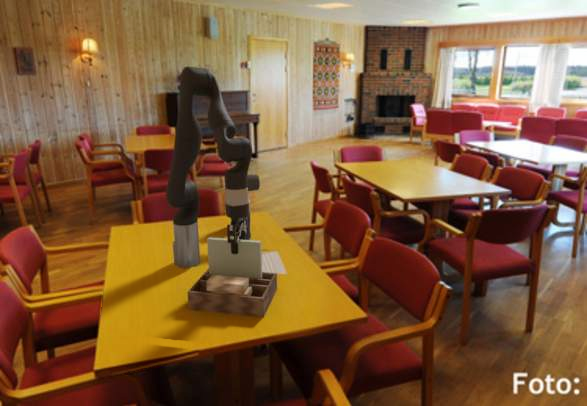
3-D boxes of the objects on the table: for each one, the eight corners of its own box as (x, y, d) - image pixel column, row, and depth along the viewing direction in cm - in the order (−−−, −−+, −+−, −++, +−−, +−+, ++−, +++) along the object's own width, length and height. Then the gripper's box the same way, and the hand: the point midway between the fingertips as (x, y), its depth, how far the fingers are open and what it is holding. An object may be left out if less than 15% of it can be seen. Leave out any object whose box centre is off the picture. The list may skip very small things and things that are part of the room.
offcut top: (206, 290, 134) (206, 281, 134) (212, 283, 139) (212, 274, 138) (244, 294, 132) (243, 285, 132) (248, 286, 137) (248, 277, 136)
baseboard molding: (257, 291, 151) (291, 288, 153) (257, 283, 150) (291, 281, 153) (249, 256, 180) (277, 254, 183) (248, 250, 180) (277, 248, 182)
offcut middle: (210, 299, 135) (209, 290, 134) (216, 292, 140) (215, 283, 139) (247, 303, 133) (247, 294, 132) (252, 295, 138) (251, 286, 137)
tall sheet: (210, 288, 149) (207, 239, 144) (211, 286, 150) (208, 237, 145) (261, 293, 145) (260, 242, 140) (262, 291, 147) (261, 240, 142)
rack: (189, 313, 136) (187, 291, 134) (210, 287, 153) (209, 267, 151) (264, 321, 132) (263, 298, 129) (277, 293, 149) (276, 273, 146)
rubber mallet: (234, 243, 193) (231, 177, 185) (231, 237, 200) (229, 173, 192) (261, 240, 196) (260, 175, 188) (258, 235, 203) (257, 172, 195)
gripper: (232, 194, 146) (234, 240, 151) (218, 206, 133) (220, 256, 137) (254, 196, 145) (255, 241, 149) (241, 208, 131) (243, 258, 136)
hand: (238, 248), depth 143 cm, fingers open, 8 cm apart
